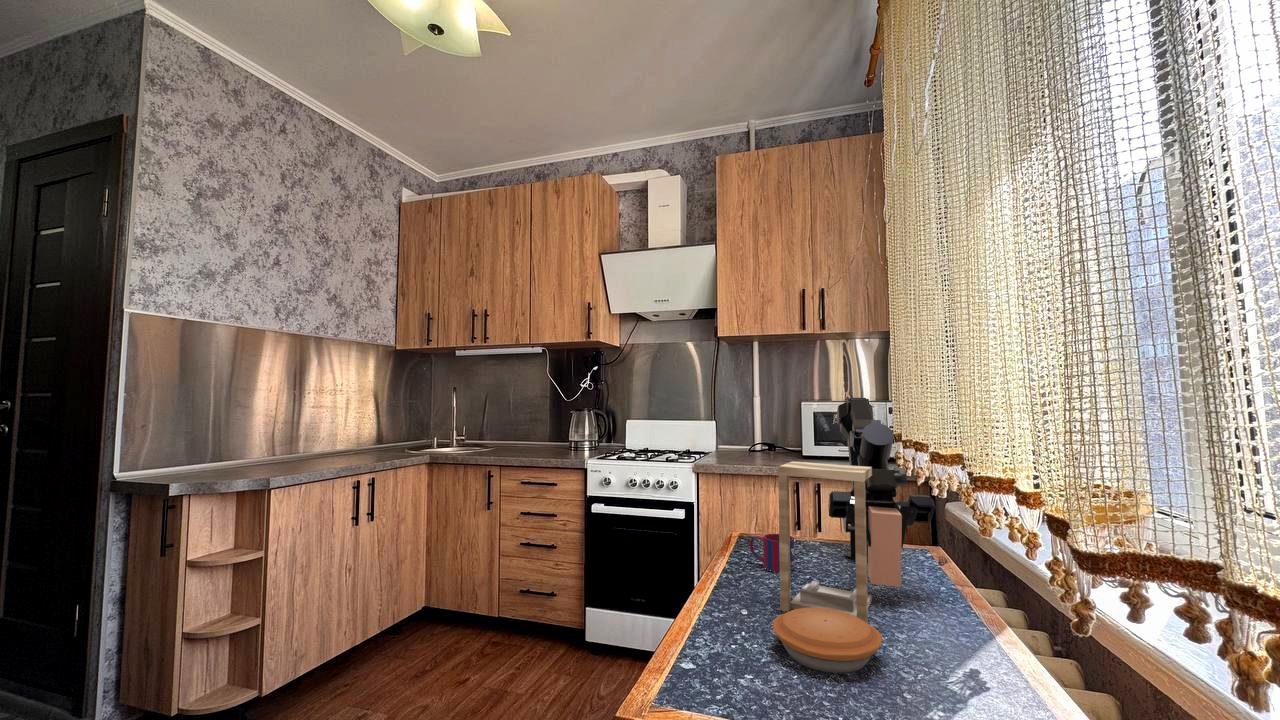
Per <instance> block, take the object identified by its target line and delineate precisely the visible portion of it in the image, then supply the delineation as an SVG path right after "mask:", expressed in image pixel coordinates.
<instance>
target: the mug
mask: <svg viewBox="0 0 1280 720" xmlns="http://www.w3.org/2000/svg"><path fill="white" fill-rule="evenodd" d="M755 539H758V540H760V541H761V542H762V546H763V547H762V550H763V556H762V557H761V556H759V555H758V554H757V553H756V552H755V549H754V547H753V546H754V540H755ZM749 549H750V552H751V554H752V556H753V557H755V558H756V559H757V560H759V561H761V562H763V568H764V569H765V568H766V569H768V570H771V571H775V572H780V560H779V533H767V534H764V535H763V536H759V535H754V536H752V538H751V539H750V541H749ZM795 558H796V557H795V537H793V536H792V535H790V571H793V570H794V569H795V566H796V565H795V564H796V563H795ZM766 569H765V570H766ZM768 570H767V571H768ZM771 571H770V572H771ZM794 571H795V570H794ZM794 571H793V572H794ZM775 572H774V573H775Z"/></svg>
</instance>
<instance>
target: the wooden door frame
mask: <svg viewBox="0 0 1280 720" xmlns="http://www.w3.org/2000/svg"><path fill="white" fill-rule="evenodd" d="M777 469H778V470H777V471H778V534H779V560H780V573H779V611H781V610H782V612H786V611H787V612H789V611H792V610H794V609H800V608H813V607H816V608H827V609H833V610H838V611H842V612H845V613H849V614H851V615H853V616H856V617H858V618H860V619H861V620H863V621H864V622H866V623H868V624H869V607H870V605H871V603H872V601H873V595H872V594H868V563H867V547H866V499H865V480H867V479H868V478H869V477H870V476H872V467H866V466H851V465H850V464H835V463H819V462H818V463H817V462H807V461H806V462H803V461H790V462H787V463H785V464H781V465H779V466H778V468H777ZM790 477H800V478H801V477H802V478H811V479H812V478H814V479H825V480H827V479H828V480H835V481H837V480H838V481H849V482H850V481H854V500H855V551H856V560H855V586H856V587H855V588H854V589H853V590H852V591H851V590H845V589H840V588H835V587H828V586H824V585H820V581H816V580H812V581H811V582H810V583H808V582H807V583H806V584H805V585H804V586H803V587H802V588H801V589H800V590H799V592H798V593H797V594H796V595H795V596H794V597H793V598H791V595H792V592H791V591H792V590H791V587H792V586H791V572H790V536H791V527H790V526H791V523H790V521H791V520H790V519H791V518H790V517H791V515H790V513H791V512H790V511H791V509H790V504H791V503H790ZM791 599H792V600H791ZM787 612H786V613H787Z"/></svg>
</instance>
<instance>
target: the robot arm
mask: <svg viewBox="0 0 1280 720" xmlns="http://www.w3.org/2000/svg"><path fill="white" fill-rule="evenodd" d="M836 423H837V425H839V433H840V434H841V435H842V436H843V437H844V439H846V441H847V447H848V448H847V450H848V460H849V465H851V466H866V467H872V476H870V477H869V478H868V479H867V480H865V499H866V547H867V564H868V546H869V547H871V537H870V533H869V529H868V510H869V506H871V507H883V508H895V509H897V510H898V511H899V512H900V513H901V515H902V542H901V550H903V547H904V544H905V543H904V542H905V538H906V531H907V529H908V526H913V525H915V524H914V523H919V524H920V523H921V524H923V523H924V524H929V523H931V522H932V519H933V516H934V512H935V510H936V505H935V504H936V503H935V500H934V499H933V498H932V497H931V496H930V495H922V494H909V496H908V501H897V500H895V498H896V497H897V494H898V493H897V488H898V487H905V486H906V485H907V483H908V481H907V479H908V478H907V473H906V468H905V467H894V469H889V464H888V460H889V459H890V457H891V453H892V448H893V444H895V434H894V431H893V430H892V429H891V428H890V427H888V426H887V425H885V424H883V423H882V420H881V419H875V418H874V410H873V405H872V404H871V403H870V400H869V398H866V397H849V398H846V401H845V402H843V403H841V404H840V405H838V406H837V411H836ZM827 506H828V516H829V517H830V518H836V519H842V522H843V523H842V524H843V530H844V532H845V533H849V539H850V540H849V549H850V551H849V552H848V553H845V554H844V555H843V556H844V558H847V559H850V560H855V561H856V551H855V500H854V481H851V490H850V491H841V490H840V491H836V490H831V492H830V493H828V505H827Z"/></svg>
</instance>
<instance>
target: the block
mask: <svg viewBox="0 0 1280 720" xmlns="http://www.w3.org/2000/svg"><path fill="white" fill-rule="evenodd" d="M868 529H869V533H870V537H871V547H869V546H868V563H867V578H869V581H870V584H871V585H872V584H873V585H879V586H888V587H898V588H901V587H902V549H901V542H902V515H901V513H900V512H899V511H898V510H897V509H895V508H883V507H871V506H869V510H868Z"/></svg>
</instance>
